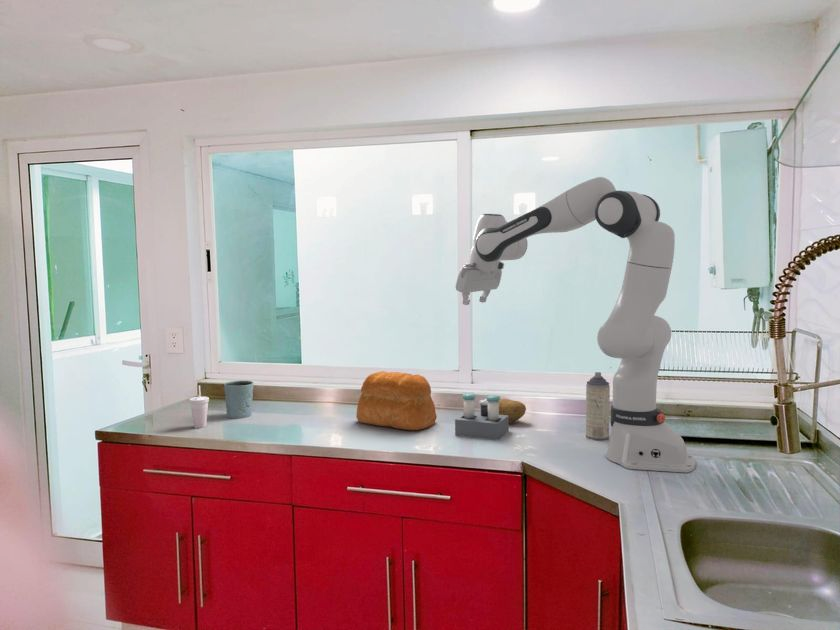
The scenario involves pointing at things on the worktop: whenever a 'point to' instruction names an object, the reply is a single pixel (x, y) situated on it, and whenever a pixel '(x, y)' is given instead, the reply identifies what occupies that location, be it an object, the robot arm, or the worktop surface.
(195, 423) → the smoothie
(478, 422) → the mount
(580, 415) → the worktop surface
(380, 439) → the worktop surface
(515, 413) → the potato
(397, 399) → the bread
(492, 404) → the white bottle teal cap
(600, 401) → the aerosol can
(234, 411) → the grey cup
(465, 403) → the white cylinder
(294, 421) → the worktop surface
